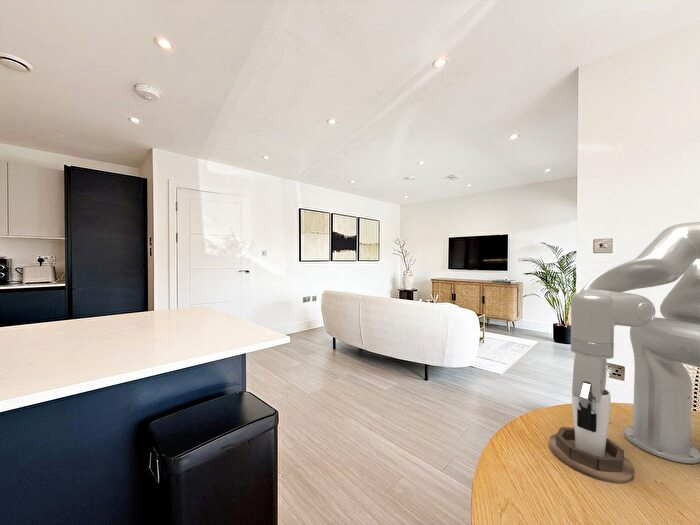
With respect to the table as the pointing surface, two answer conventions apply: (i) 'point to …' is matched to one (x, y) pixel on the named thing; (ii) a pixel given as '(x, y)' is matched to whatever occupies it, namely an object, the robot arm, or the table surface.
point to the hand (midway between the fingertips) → (590, 420)
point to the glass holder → (592, 458)
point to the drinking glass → (596, 440)
